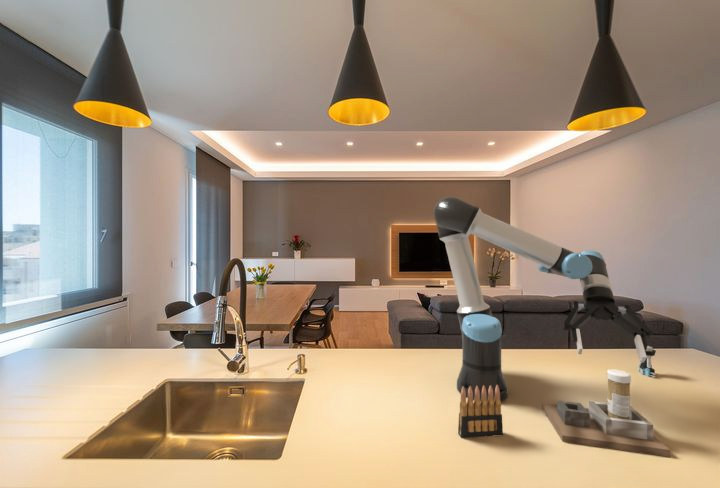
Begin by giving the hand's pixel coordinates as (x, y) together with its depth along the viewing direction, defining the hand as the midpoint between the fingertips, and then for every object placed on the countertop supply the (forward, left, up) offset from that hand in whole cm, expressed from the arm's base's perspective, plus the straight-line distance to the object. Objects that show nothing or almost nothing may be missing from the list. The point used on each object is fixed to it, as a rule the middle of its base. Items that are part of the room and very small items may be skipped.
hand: (610, 355), depth 85 cm
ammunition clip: (-35, -16, -17) cm, 42 cm away
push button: (+28, +39, -17) cm, 51 cm away
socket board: (-6, -6, -17) cm, 19 cm away
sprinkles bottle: (-1, -6, -16) cm, 17 cm away
